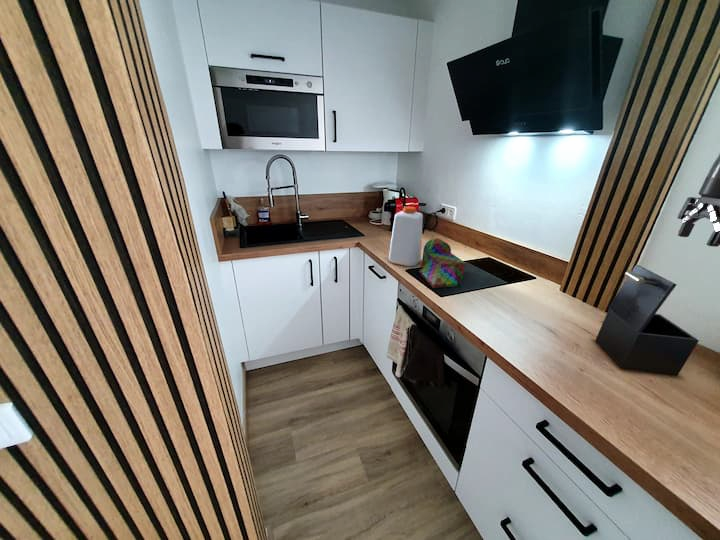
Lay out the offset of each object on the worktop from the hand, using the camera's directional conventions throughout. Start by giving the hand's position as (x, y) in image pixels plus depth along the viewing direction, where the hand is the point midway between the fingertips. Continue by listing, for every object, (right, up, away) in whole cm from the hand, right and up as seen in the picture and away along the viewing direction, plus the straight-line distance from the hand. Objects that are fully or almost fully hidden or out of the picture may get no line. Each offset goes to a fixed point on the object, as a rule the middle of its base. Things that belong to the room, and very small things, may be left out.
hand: (696, 241), depth 75 cm
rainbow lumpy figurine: (-52, -10, +59) cm, 80 cm away
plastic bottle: (-66, -3, +75) cm, 100 cm away
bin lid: (-14, -15, +1) cm, 20 cm away
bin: (-9, -33, +8) cm, 36 cm away
